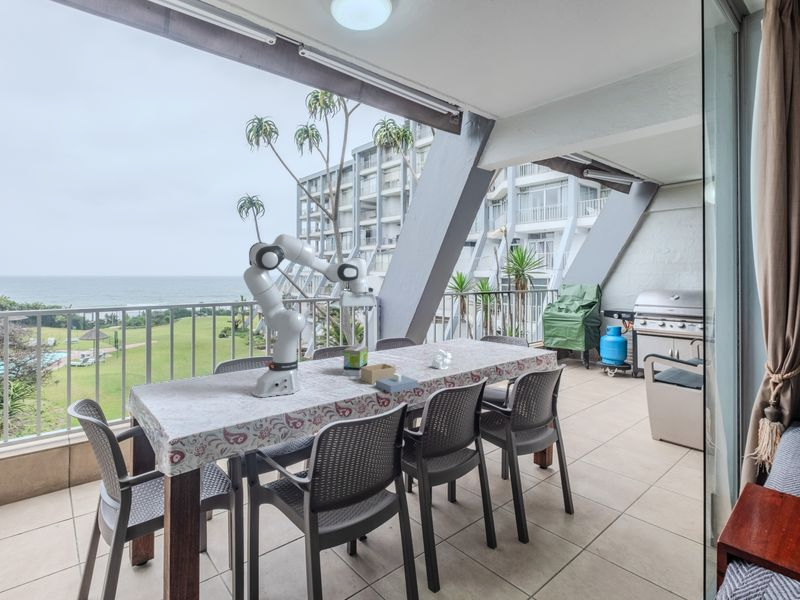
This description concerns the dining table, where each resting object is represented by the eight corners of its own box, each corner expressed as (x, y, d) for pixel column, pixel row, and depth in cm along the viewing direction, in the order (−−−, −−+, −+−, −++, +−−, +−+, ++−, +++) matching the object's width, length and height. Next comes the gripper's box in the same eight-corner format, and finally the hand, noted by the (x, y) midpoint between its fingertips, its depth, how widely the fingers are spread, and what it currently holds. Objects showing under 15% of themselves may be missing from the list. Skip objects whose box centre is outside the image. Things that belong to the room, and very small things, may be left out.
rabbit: (452, 368, 241) (452, 348, 240) (447, 371, 232) (448, 351, 232) (433, 366, 246) (433, 347, 245) (428, 369, 237) (428, 349, 236)
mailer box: (371, 384, 202) (372, 371, 202) (360, 379, 211) (360, 367, 211) (395, 380, 211) (395, 367, 211) (383, 375, 220) (383, 363, 220)
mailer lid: (390, 393, 187) (390, 379, 187) (375, 387, 198) (375, 374, 197) (417, 387, 198) (418, 374, 197) (402, 381, 208) (402, 369, 207)
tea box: (360, 376, 217) (360, 350, 217) (342, 375, 219) (342, 349, 219) (367, 370, 232) (367, 345, 231) (351, 369, 234) (351, 345, 233)
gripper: (343, 288, 196) (342, 316, 197) (377, 289, 208) (376, 315, 209) (337, 288, 201) (336, 315, 202) (371, 288, 213) (370, 314, 214)
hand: (357, 315), depth 205 cm, fingers open, 8 cm apart
